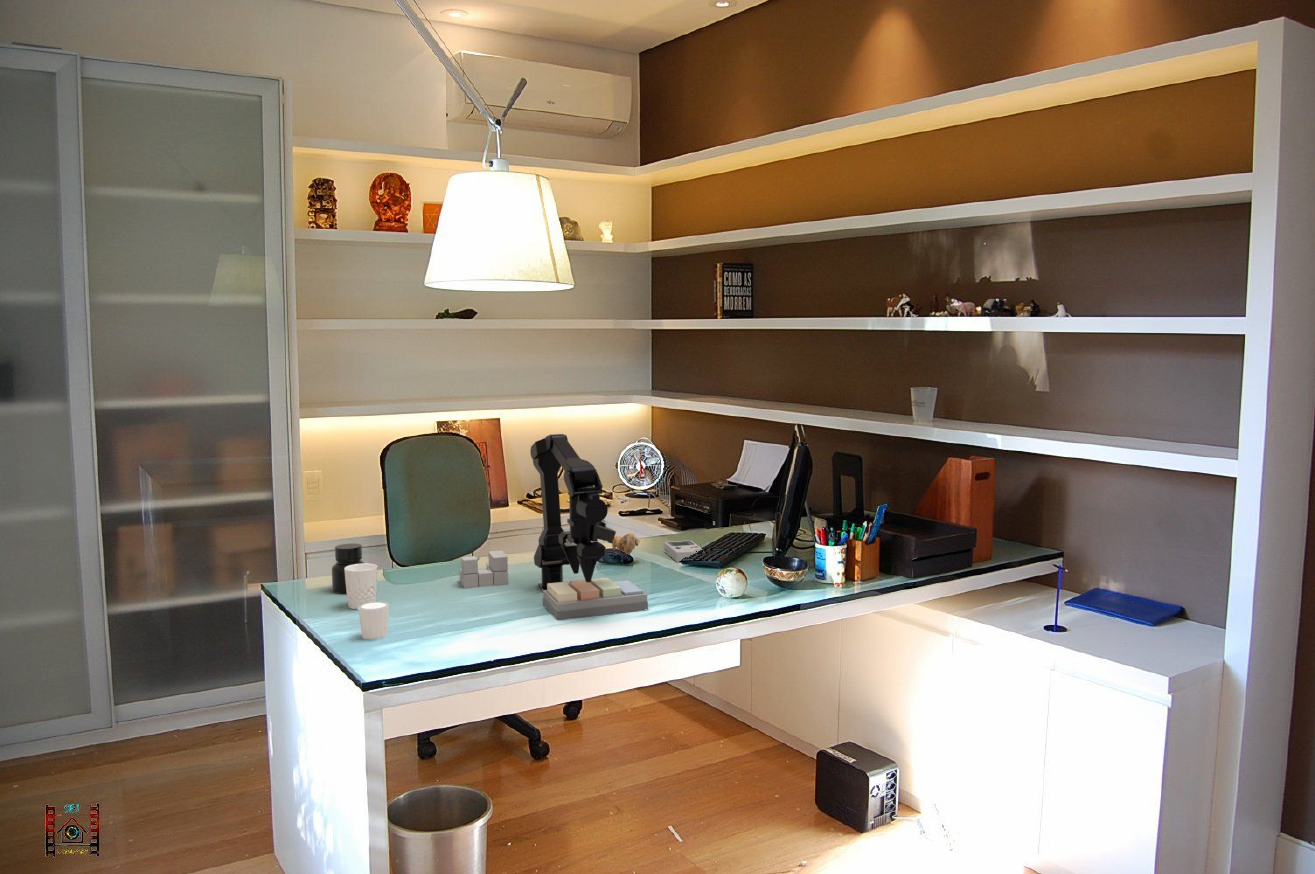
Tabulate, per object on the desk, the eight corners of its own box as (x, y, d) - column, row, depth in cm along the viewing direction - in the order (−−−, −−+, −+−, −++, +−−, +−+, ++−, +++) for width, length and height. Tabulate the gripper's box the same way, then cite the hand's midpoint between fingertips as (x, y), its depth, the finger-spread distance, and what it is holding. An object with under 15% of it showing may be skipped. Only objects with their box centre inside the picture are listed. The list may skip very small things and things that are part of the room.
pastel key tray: (543, 604, 241) (542, 590, 240) (629, 595, 249) (629, 581, 248) (557, 620, 228) (557, 604, 227) (647, 609, 236) (647, 594, 235)
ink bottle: (375, 588, 258) (374, 544, 257) (352, 596, 250) (350, 551, 249) (347, 584, 262) (346, 541, 261) (324, 592, 254) (322, 547, 253)
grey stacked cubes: (500, 574, 272) (499, 547, 271) (508, 584, 261) (507, 556, 260) (457, 578, 268) (456, 550, 267) (463, 589, 257) (463, 560, 256)
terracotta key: (568, 590, 241) (568, 581, 241) (586, 588, 243) (586, 579, 243) (581, 601, 231) (581, 592, 231) (599, 599, 233) (599, 590, 232)
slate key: (611, 591, 245) (611, 582, 245) (628, 589, 247) (628, 580, 247) (625, 602, 235) (625, 592, 235) (642, 600, 237) (642, 590, 236)
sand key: (547, 592, 239) (547, 583, 239) (565, 590, 241) (564, 581, 241) (558, 604, 229) (558, 594, 229) (577, 602, 231) (577, 592, 230)
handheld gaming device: (676, 563, 284) (676, 551, 284) (663, 552, 299) (663, 540, 298) (704, 562, 287) (705, 550, 286) (691, 551, 301) (691, 539, 300)
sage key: (590, 588, 243) (590, 579, 243) (607, 586, 245) (607, 577, 245) (603, 599, 233) (603, 589, 233) (621, 597, 235) (621, 587, 234)
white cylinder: (362, 631, 220) (361, 601, 220) (393, 630, 221) (392, 600, 220) (355, 640, 214) (354, 610, 213) (387, 639, 214) (386, 609, 213)
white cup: (384, 603, 243) (383, 564, 242) (365, 611, 236) (364, 571, 235) (358, 600, 246) (357, 562, 245) (339, 608, 239) (337, 569, 238)
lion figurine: (642, 563, 284) (641, 533, 283) (627, 565, 281) (626, 535, 280) (616, 554, 296) (615, 525, 295) (601, 556, 293) (601, 527, 292)
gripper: (625, 519, 229) (626, 583, 231) (598, 506, 246) (599, 565, 248) (581, 523, 225) (582, 588, 227) (557, 510, 242) (558, 570, 244)
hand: (582, 577), depth 236 cm, fingers open, 9 cm apart
